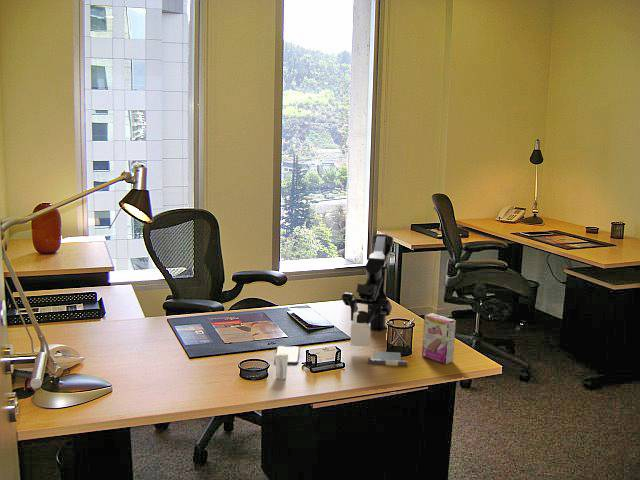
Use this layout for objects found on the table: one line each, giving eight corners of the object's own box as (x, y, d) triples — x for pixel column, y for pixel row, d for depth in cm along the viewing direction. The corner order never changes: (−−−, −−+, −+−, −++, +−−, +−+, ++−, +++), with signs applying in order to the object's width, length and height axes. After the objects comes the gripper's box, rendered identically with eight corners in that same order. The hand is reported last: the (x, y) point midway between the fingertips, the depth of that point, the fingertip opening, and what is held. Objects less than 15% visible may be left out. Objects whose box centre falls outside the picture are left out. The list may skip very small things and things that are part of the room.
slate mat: (374, 351, 268) (375, 351, 268) (400, 353, 267) (400, 352, 267) (374, 361, 259) (374, 360, 259) (400, 362, 258) (400, 361, 258)
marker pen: (368, 362, 258) (368, 357, 257) (406, 364, 256) (407, 359, 256) (368, 363, 256) (368, 359, 255) (407, 366, 255) (407, 361, 254)
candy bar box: (421, 356, 265) (423, 315, 261) (429, 353, 268) (431, 312, 265) (445, 365, 257) (448, 322, 253) (453, 362, 260) (456, 319, 257)
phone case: (298, 366, 253) (299, 350, 269) (298, 362, 253) (300, 346, 268) (273, 366, 253) (276, 349, 269) (273, 361, 253) (276, 345, 268)
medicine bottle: (369, 340, 267) (371, 309, 265) (369, 346, 260) (370, 315, 258) (350, 339, 268) (352, 308, 265) (350, 345, 261) (351, 314, 258)
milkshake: (272, 375, 243) (272, 347, 241) (287, 375, 243) (288, 347, 241) (272, 380, 238) (272, 352, 236) (288, 380, 239) (288, 352, 237)
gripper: (344, 271, 266) (330, 307, 259) (390, 278, 258) (377, 315, 251) (352, 286, 275) (339, 321, 267) (397, 294, 266) (384, 330, 259)
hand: (359, 322), depth 261 cm, fingers closed on medicine bottle, 6 cm apart
